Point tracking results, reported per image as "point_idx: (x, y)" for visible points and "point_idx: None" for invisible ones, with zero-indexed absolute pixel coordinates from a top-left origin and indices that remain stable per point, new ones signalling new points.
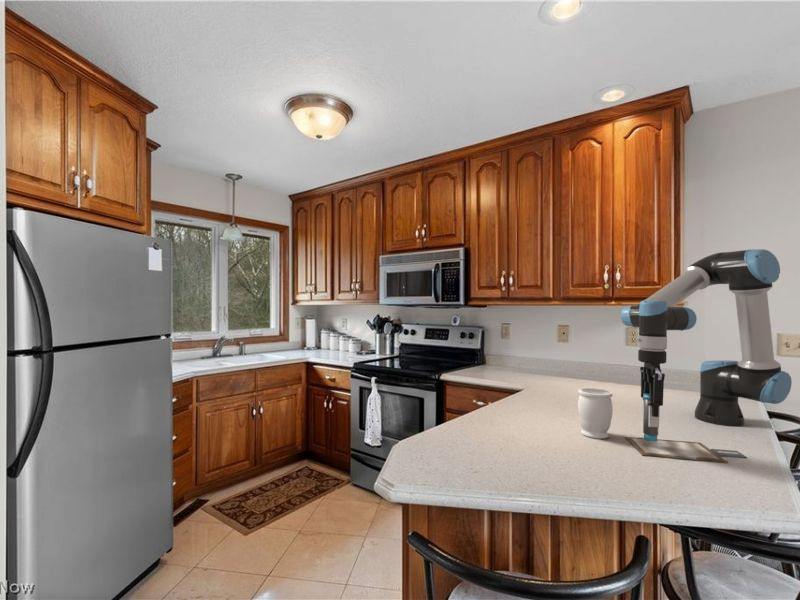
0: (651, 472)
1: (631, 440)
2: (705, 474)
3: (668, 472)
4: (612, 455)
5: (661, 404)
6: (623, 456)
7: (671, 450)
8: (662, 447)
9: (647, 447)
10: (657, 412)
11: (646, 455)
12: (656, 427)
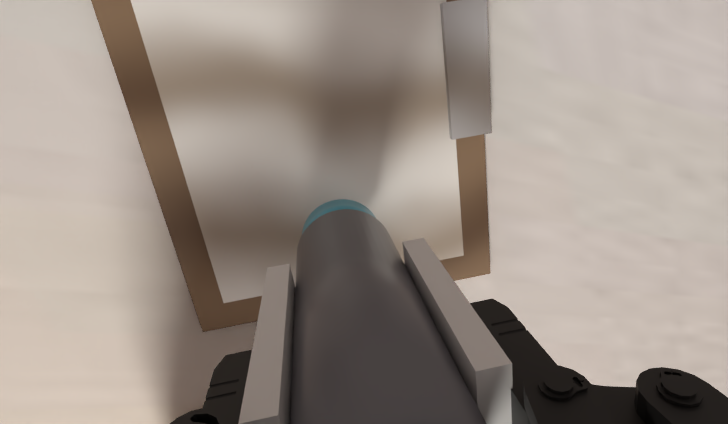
0: (682, 255)
1: None
2: (675, 17)
3: (673, 189)
4: None
5: (695, 395)
6: None
7: (373, 115)
8: (333, 157)
9: None
10: (524, 337)
11: (487, 253)
12: (396, 249)
